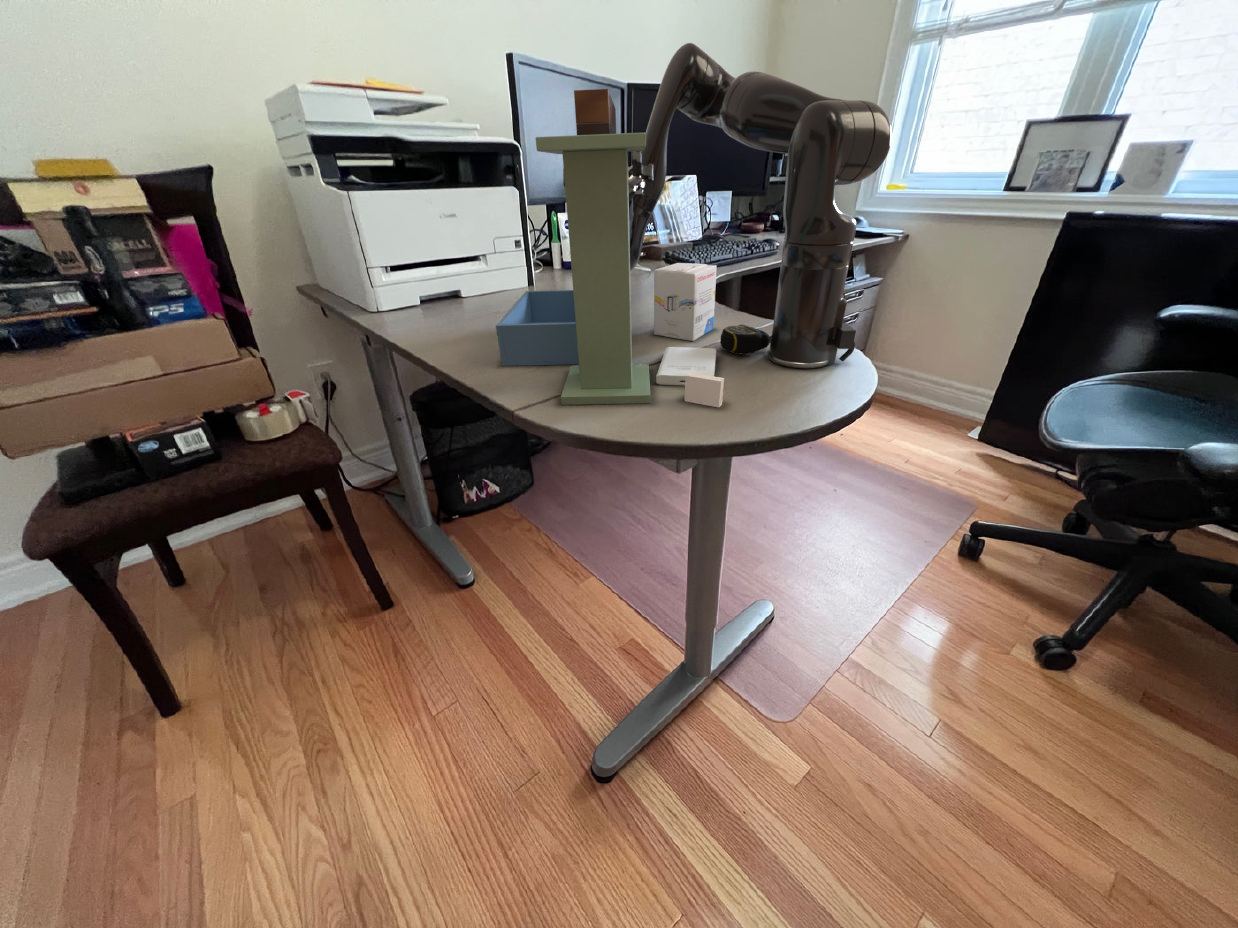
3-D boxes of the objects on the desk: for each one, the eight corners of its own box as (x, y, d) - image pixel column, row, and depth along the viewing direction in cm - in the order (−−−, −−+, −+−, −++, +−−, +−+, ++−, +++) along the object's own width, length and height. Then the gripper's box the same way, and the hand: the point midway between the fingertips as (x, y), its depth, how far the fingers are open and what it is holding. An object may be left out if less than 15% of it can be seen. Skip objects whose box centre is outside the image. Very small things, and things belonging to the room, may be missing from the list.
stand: (648, 366, 77) (647, 139, 62) (650, 409, 64) (651, 132, 48) (572, 368, 78) (553, 143, 62) (559, 411, 64) (530, 137, 49)
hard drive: (715, 358, 80) (713, 387, 70) (665, 356, 81) (655, 384, 71) (716, 348, 79) (714, 376, 69) (665, 346, 81) (655, 373, 70)
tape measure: (770, 353, 81) (773, 330, 79) (737, 361, 78) (740, 337, 76) (742, 342, 86) (744, 321, 84) (711, 349, 83) (712, 327, 81)
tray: (595, 322, 100) (594, 289, 97) (585, 364, 79) (582, 323, 76) (530, 324, 101) (525, 291, 97) (502, 366, 80) (495, 325, 76)
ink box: (675, 323, 98) (677, 261, 91) (714, 329, 93) (718, 264, 87) (652, 335, 92) (652, 268, 86) (692, 342, 87) (695, 272, 81)
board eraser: (616, 143, 69) (615, 108, 67) (609, 136, 52) (608, 88, 50) (591, 144, 69) (589, 109, 67) (576, 137, 52) (573, 90, 50)
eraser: (719, 407, 64) (721, 381, 62) (684, 401, 66) (685, 375, 64) (722, 404, 65) (724, 377, 63) (687, 398, 67) (688, 372, 65)
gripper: (572, 190, 89) (557, 132, 72) (651, 187, 88) (654, 127, 72) (573, 232, 89) (558, 183, 73) (652, 230, 88) (654, 179, 72)
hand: (605, 155), depth 72 cm, fingers open, 8 cm apart
